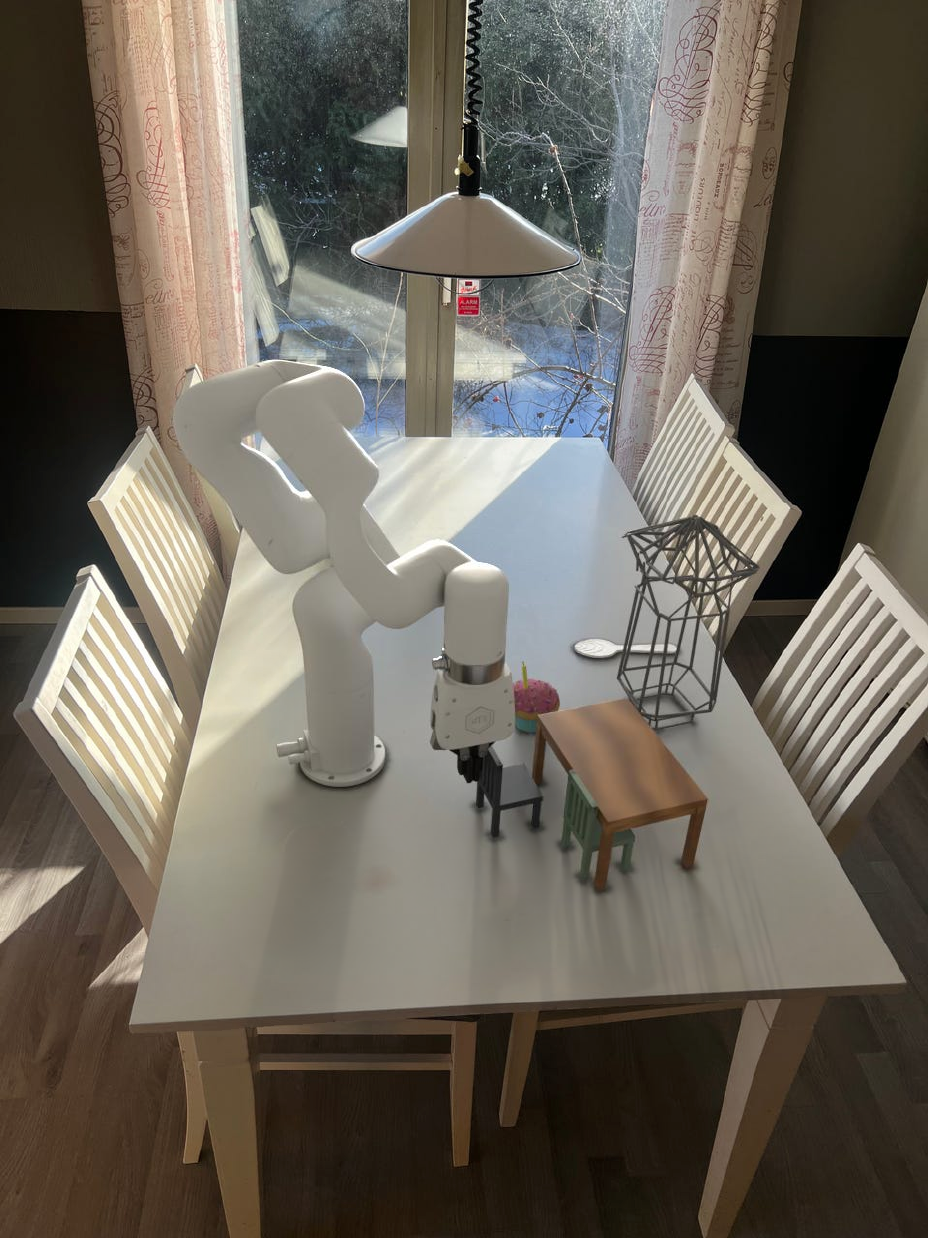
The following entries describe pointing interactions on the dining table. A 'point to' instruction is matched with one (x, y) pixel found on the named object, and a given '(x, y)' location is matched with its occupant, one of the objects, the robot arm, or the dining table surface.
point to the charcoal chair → (506, 789)
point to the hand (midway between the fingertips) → (469, 775)
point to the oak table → (621, 772)
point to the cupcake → (533, 701)
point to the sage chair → (588, 825)
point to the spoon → (615, 648)
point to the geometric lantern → (683, 528)
